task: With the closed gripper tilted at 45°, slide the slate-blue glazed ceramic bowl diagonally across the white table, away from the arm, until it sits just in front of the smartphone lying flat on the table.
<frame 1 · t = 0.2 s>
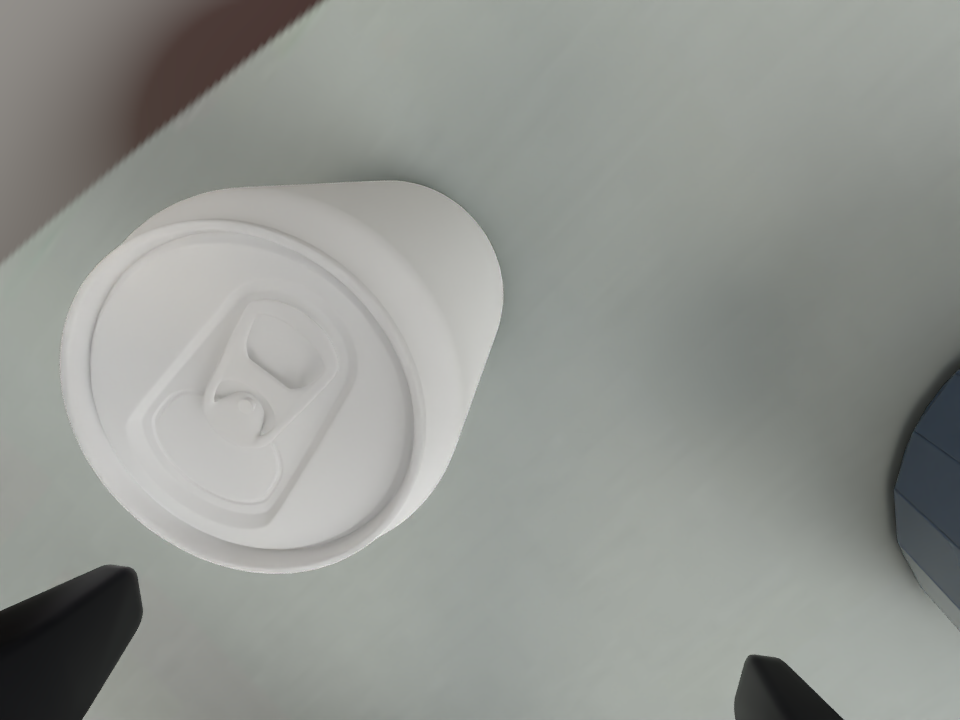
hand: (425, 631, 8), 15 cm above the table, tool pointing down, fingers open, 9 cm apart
beverage can: (401, 289, 22), on the table
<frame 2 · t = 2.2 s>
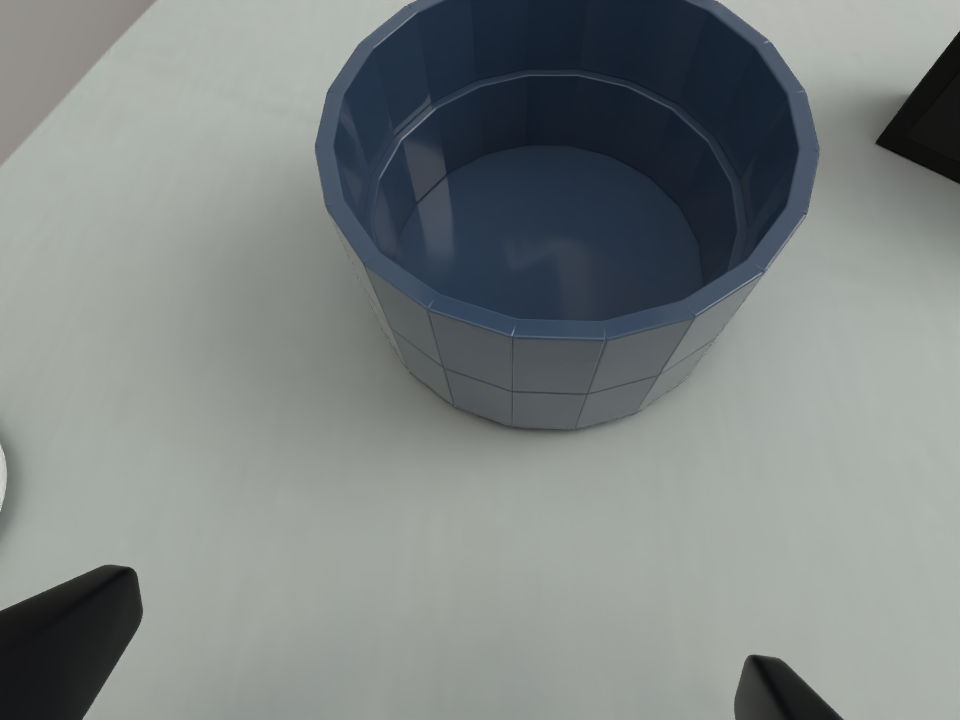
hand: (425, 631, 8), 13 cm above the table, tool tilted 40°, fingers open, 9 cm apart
bowl: (544, 269, 25), on the table
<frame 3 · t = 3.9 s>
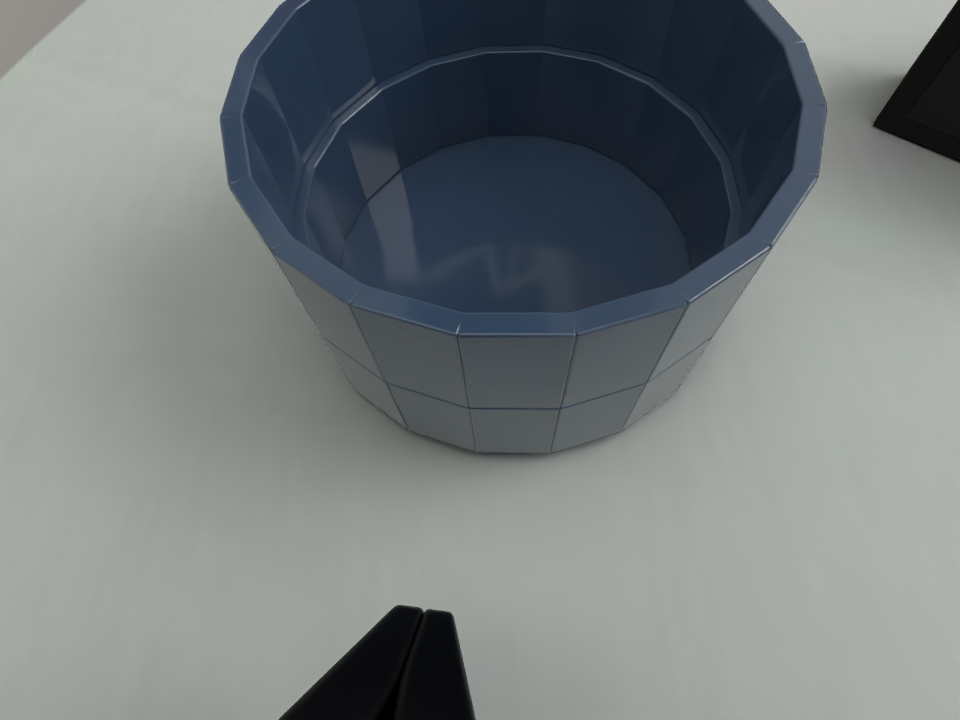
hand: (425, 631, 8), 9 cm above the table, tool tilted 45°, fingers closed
bowl: (512, 270, 22), on the table
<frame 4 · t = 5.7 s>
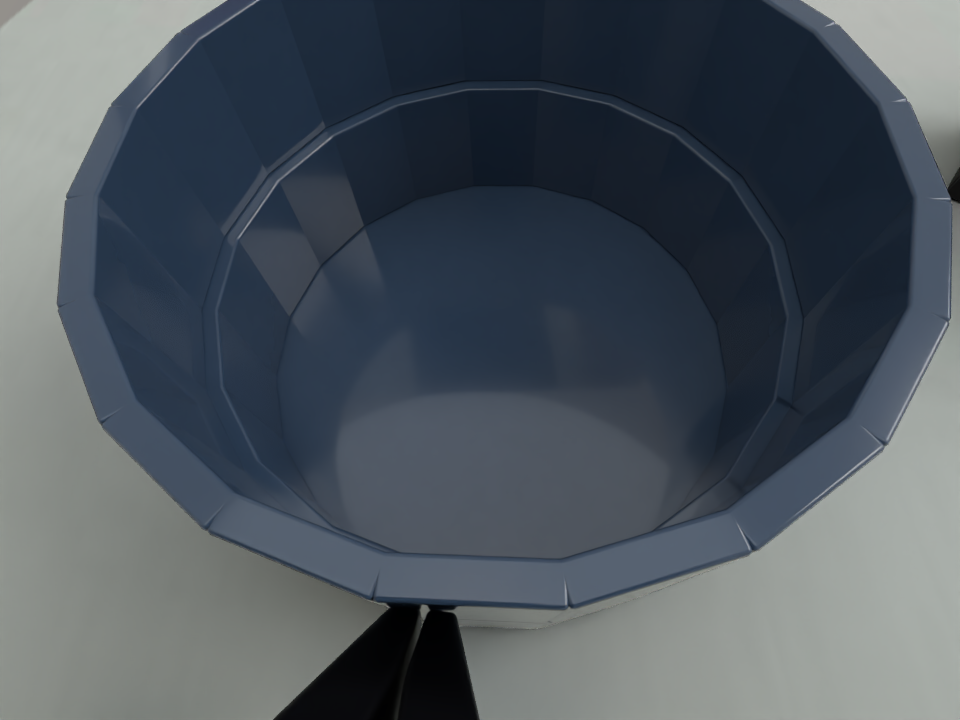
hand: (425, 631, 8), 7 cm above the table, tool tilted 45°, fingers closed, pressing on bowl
bowl: (498, 360, 18), on the table, touching gripper
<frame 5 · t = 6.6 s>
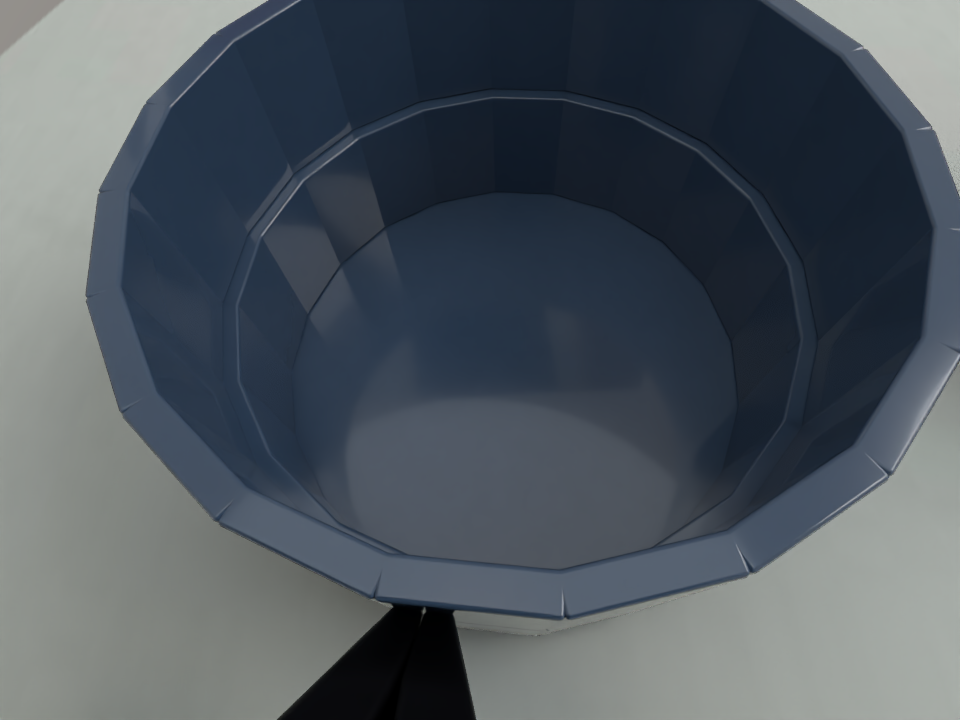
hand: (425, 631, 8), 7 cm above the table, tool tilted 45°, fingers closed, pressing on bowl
bowl: (510, 366, 18), on the table, touching gripper
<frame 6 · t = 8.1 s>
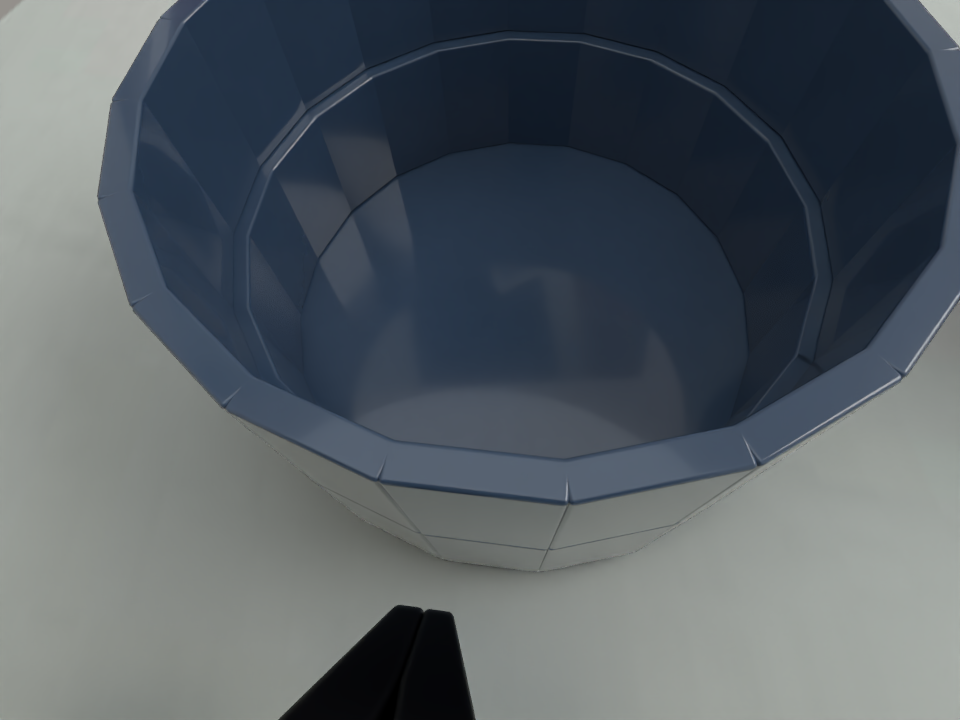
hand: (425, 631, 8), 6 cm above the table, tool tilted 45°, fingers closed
bowl: (519, 314, 18), on the table
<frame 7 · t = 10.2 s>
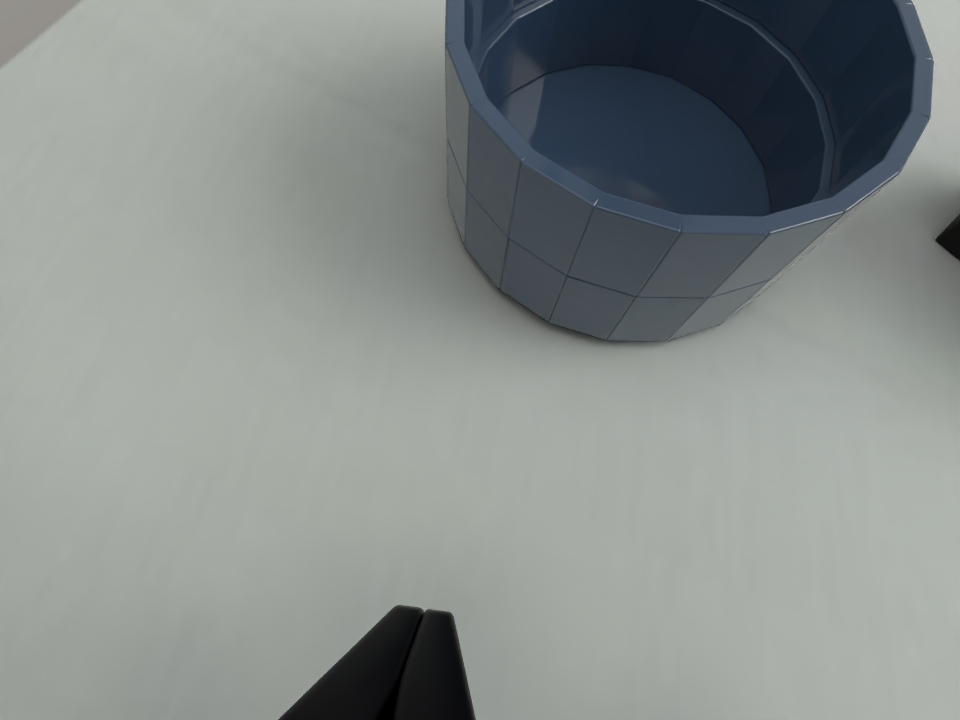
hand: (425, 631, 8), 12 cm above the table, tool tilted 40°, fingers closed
bowl: (616, 189, 26), on the table
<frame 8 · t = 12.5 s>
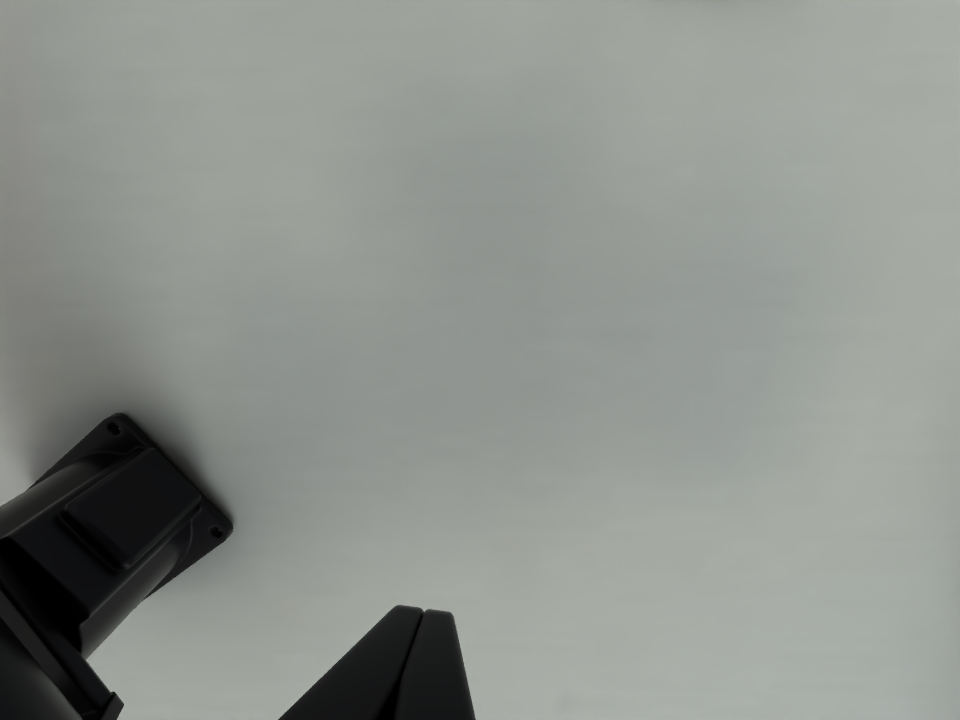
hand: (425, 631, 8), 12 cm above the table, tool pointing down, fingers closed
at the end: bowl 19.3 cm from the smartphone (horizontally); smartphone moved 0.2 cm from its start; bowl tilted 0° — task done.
